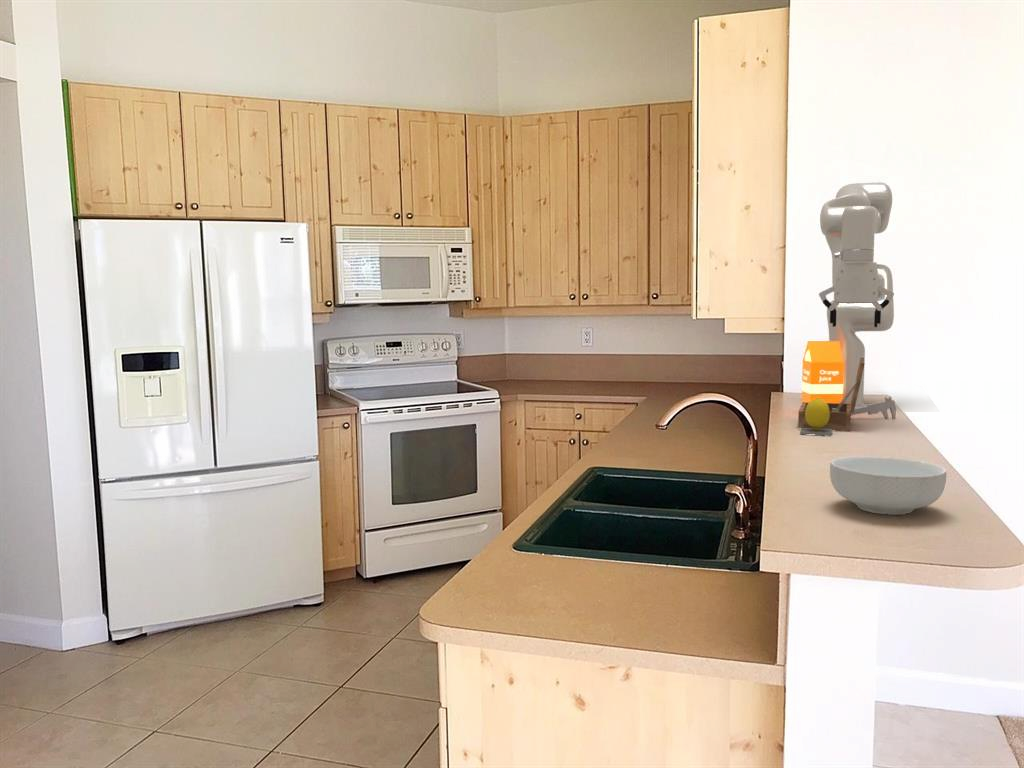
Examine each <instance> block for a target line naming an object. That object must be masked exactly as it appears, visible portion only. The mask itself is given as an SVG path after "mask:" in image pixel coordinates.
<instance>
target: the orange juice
mask: <svg viewBox="0 0 1024 768" xmlns="http://www.w3.org/2000/svg"><path fill="white" fill-rule="evenodd" d="M803 354H804V355H803V358H802V359H803V360H802V376H801V377H802V381H801V403H802V402H810V401H811V400H813V399H815V398H816V397H819V398H820V399H822V400H824V401H825V402H826V403H840V402H841V401H842V399H843V370H844V362H843V357H842V352H841V348H840V343H839V341H829V340H812V341H811V340H810V341H809V340H808V341H807V342H806V346H805V351H804V353H803Z"/></svg>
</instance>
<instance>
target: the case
mask: <svg viewBox="0 0 1024 768" xmlns="http://www.w3.org/2000/svg"><path fill="white" fill-rule="evenodd" d="M865 364H866V363H865V362H864V358H860V363H859V367H858V372H857V376H856V381H855V382H854V383H853V385H852V386H851V388H850V389H849V391H848V392H847V394H846V395H845V397H844V398H843V399H842V401H841V402H840V403H827V404H828V407H829V411H830V417H829V421H828V423H827V424H826V425H825V426H824V427H821V428H820V429H832V430H835V431H834V432H851V429H852V424H851V423H852V415H851V413H853V412H854V409H855V405H856V400H857V396H858V391H859V387H860V382H861V378H862V373H863V369H864V370H865ZM853 389H854V390H853ZM852 390H853V394H852V399H851V402H850V404H844V402H845V400H846V399H847V398H848V396H849V395H850V393H851V392H852ZM808 403H809V402H802V401H801V404H800V407H799V409H798V422H797V423H798V424H797V425H798V426H797V429H798V428H813V427H811V426H810V425H809V424H808V423H807V421H806V418H805V410H806V407H807V404H808Z"/></svg>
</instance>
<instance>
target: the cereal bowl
mask: <svg viewBox="0 0 1024 768" xmlns="http://www.w3.org/2000/svg"><path fill="white" fill-rule="evenodd" d="M829 476H830V481H831V485H832V487H833V489H834V490H835V491H836V492H837V494H838V495H839V496H841V497H842V498H844V499H845V500H847V501H849V502H852V503H853V504H855V505H856V506H857V508H859V509H860V510H862V511H864V512H868V513H872V514H873V513H874V514H880V515H887V514H888V515H889V516H890V515H892V516H893V515H894V516H896V515H897V516H898V515H899V516H900V515H908V514H910V513H912V512H914V510H915V509H920V508H921V509H922V508H925V507H927V506H930V505H932V504H934V503H935V502H936V501H938V500H939V498H940V497H941V496H942V495H943V492H944V490H945V486H946V482H947V470H946V468H944V467H943V466H942V465H938V464H936V463H932V462H928V461H922V460H917V459H910V458H900V457H893V456H891V457H889V456H871V455H870V456H869V455H868V456H865V455H864V456H863V455H862V456H861V455H860V456H859V455H857V456H855V455H853V456H843V457H841V456H840V457H837V458H834V459H832V460H831V461H830V466H829ZM907 513H908V514H907Z"/></svg>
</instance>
